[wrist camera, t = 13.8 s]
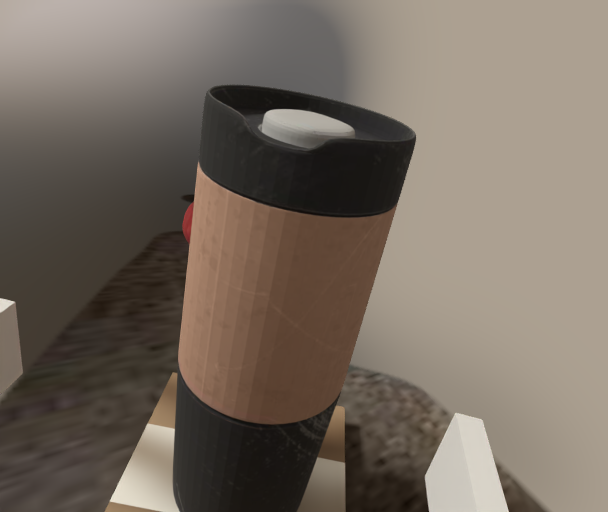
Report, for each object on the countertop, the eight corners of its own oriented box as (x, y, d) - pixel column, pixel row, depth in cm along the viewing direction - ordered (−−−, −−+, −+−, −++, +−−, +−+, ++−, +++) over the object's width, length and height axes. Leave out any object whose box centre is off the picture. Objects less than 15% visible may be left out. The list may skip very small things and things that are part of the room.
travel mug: (269, 410, 30) (339, 95, 21) (334, 514, 24) (467, 147, 15) (149, 447, 26) (172, 74, 17) (195, 583, 20) (266, 135, 11)
